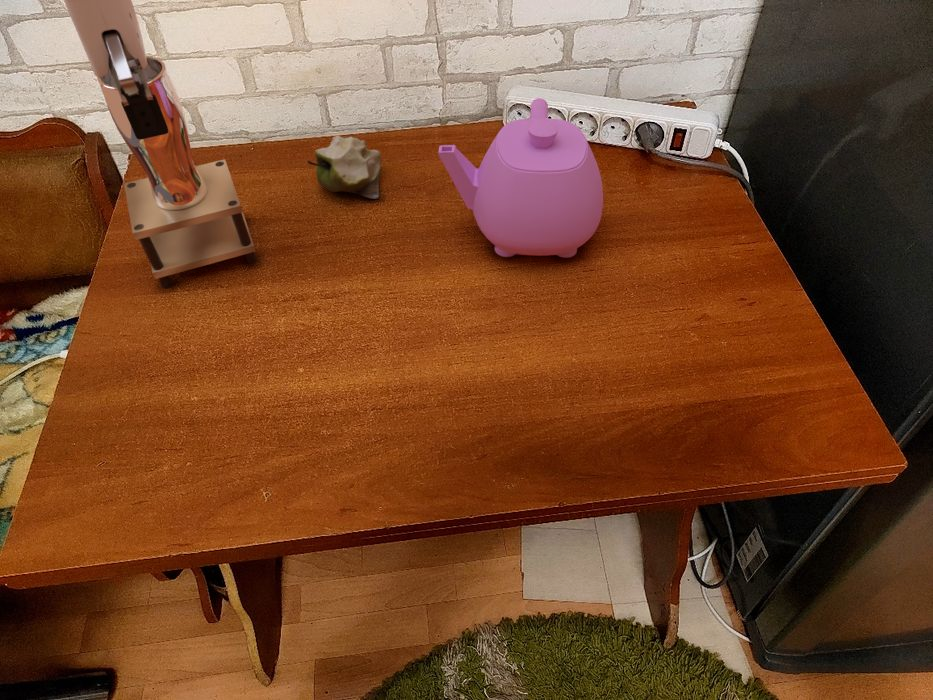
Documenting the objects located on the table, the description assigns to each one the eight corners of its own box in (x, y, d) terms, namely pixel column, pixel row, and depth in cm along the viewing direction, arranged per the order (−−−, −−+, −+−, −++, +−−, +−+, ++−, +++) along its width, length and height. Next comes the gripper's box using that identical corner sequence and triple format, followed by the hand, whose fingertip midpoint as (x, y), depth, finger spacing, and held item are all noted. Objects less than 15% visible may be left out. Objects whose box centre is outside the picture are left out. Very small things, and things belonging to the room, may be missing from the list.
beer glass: (137, 205, 79) (79, 81, 67) (175, 171, 83) (126, 49, 71) (187, 219, 77) (136, 94, 65) (223, 183, 81) (181, 61, 70)
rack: (161, 291, 82) (132, 233, 76) (151, 241, 88) (123, 183, 81) (260, 263, 85) (240, 205, 78) (244, 216, 91) (225, 158, 84)
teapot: (447, 176, 96) (443, 74, 85) (590, 177, 96) (605, 75, 84) (438, 272, 84) (432, 169, 72) (603, 275, 83) (623, 170, 72)
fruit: (326, 217, 93) (303, 166, 87) (326, 181, 99) (304, 132, 94) (391, 199, 92) (372, 146, 87) (386, 164, 99) (369, 113, 93)
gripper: (24, -97, 63) (105, 85, 76) (25, -27, 52) (119, 170, 66) (110, -109, 65) (174, 71, 78) (127, -43, 54) (197, 151, 68)
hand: (148, 115), depth 72 cm, fingers closed on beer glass, 7 cm apart
